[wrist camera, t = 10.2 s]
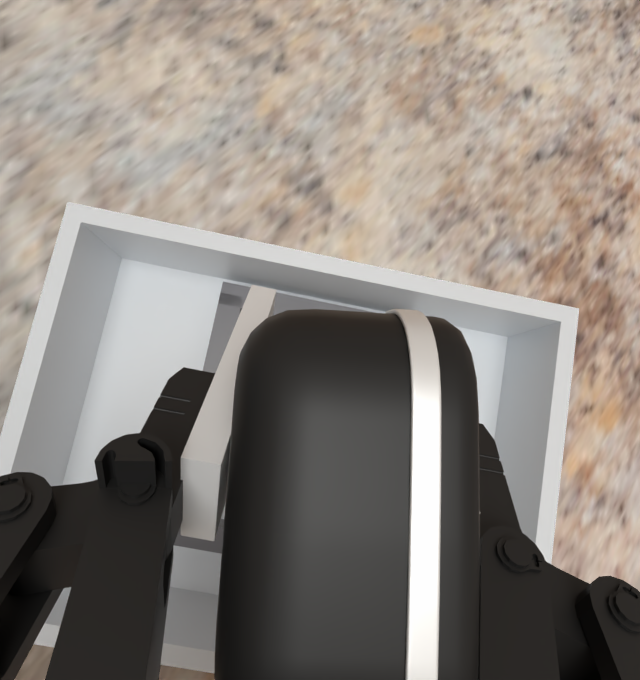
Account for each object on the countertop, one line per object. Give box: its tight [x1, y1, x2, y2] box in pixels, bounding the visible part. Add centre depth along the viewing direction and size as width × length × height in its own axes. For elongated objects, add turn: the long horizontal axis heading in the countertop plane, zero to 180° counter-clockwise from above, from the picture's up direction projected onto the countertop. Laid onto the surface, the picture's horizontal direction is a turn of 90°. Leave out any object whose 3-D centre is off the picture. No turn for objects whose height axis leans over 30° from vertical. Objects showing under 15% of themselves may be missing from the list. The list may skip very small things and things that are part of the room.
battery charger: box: [214, 309, 480, 680], centre depth 12 cm, size 7×4×11 cm, turn 177°
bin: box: [0, 202, 579, 673], centre depth 23 cm, size 24×18×6 cm
